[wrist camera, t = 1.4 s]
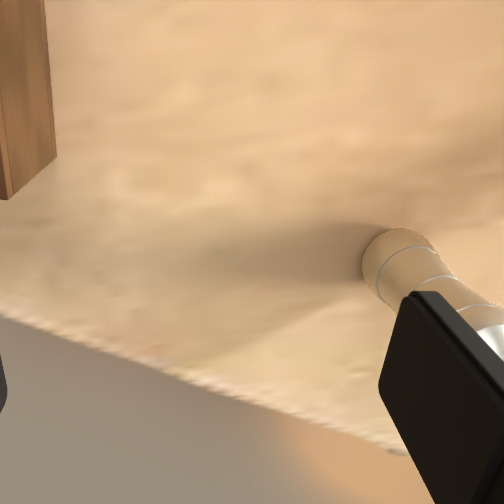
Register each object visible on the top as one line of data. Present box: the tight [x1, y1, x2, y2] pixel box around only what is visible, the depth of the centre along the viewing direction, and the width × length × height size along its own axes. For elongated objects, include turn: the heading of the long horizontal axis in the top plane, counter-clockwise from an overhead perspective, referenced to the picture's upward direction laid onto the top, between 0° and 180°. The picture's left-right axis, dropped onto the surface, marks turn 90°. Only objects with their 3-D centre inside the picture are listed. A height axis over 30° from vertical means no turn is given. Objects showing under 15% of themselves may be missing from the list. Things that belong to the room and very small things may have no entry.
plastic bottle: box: [361, 229, 504, 361], centre depth 32 cm, size 6×7×20 cm
